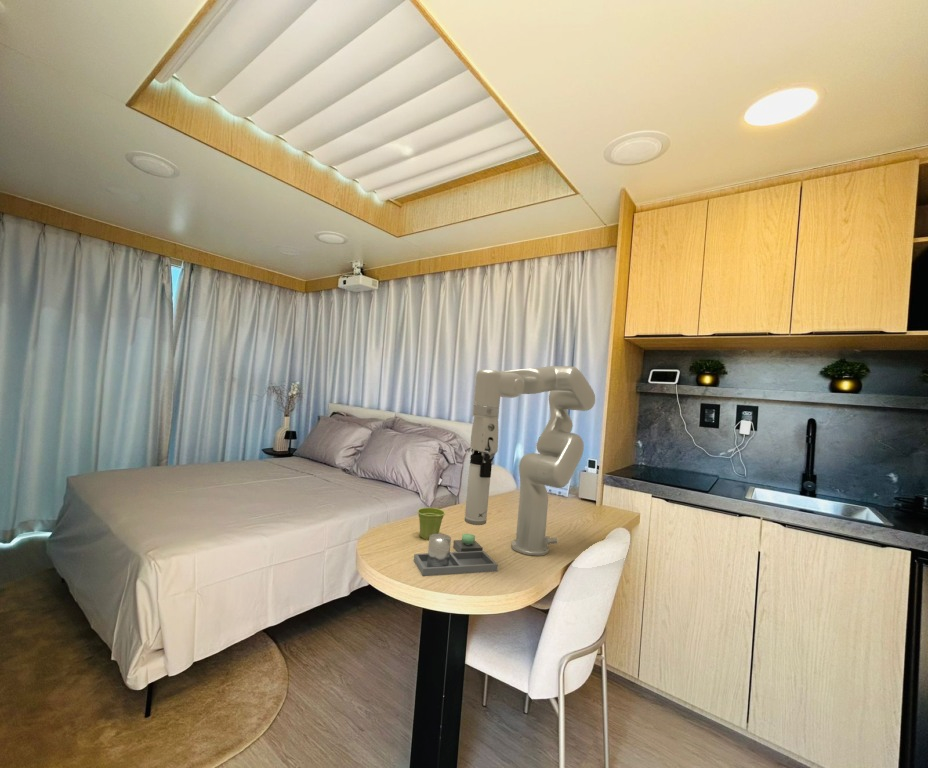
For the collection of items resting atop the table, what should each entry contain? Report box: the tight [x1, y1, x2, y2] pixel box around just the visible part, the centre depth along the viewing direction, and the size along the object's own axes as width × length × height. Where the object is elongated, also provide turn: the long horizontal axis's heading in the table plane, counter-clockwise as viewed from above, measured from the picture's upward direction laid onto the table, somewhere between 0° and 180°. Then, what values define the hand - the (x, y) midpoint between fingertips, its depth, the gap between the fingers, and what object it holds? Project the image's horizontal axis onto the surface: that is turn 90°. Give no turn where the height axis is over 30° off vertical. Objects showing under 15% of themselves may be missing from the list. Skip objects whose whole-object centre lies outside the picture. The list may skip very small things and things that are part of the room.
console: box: [452, 539, 484, 552], centre depth 124 cm, size 7×7×3 cm
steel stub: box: [427, 533, 452, 567], centre depth 110 cm, size 6×6×8 cm
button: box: [461, 533, 476, 545], centre depth 124 cm, size 4×4×5 cm
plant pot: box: [417, 507, 446, 541], centre depth 136 cm, size 9×9×9 cm
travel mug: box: [464, 453, 491, 526], centre depth 115 cm, size 6×7×20 cm
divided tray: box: [413, 550, 499, 577], centre depth 112 cm, size 21×10×3 cm, turn 110°
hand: (480, 474), depth 115 cm, fingers closed on travel mug, 6 cm apart
